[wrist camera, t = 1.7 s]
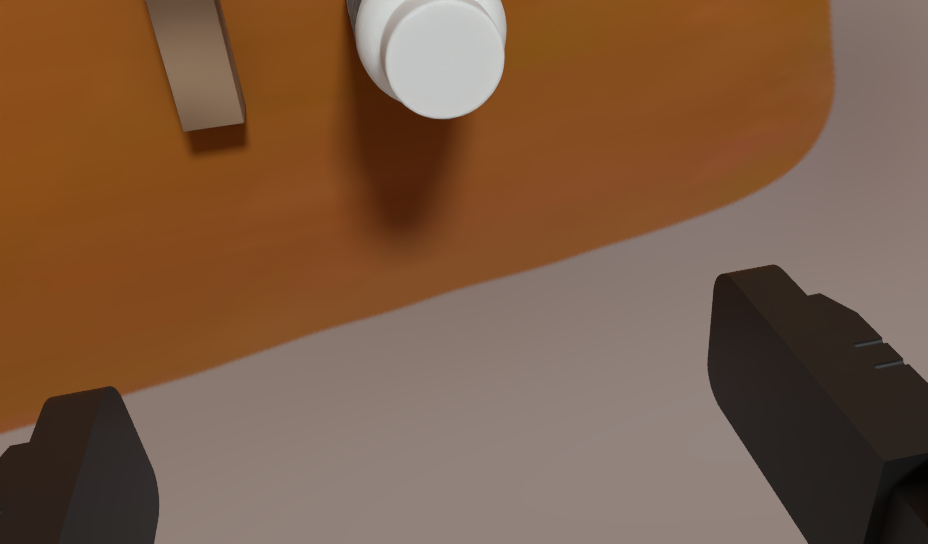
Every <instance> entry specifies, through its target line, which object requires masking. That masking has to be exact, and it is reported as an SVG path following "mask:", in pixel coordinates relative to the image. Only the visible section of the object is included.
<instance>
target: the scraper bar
mask: <svg viewBox="0 0 928 544" xmlns="http://www.w3.org/2000/svg"><path fill="white" fill-rule="evenodd" d="M145 1H146V4H147V7H148V11H149V14H150V18H151V21H152V25H153V28H154V31H155V35H156V38H157V42H158V45H159V48H160V52H161V55H162V59H163V62H164V66H165V69H166V72H167V76H168V79H169V83H170V86H171V90H172V93H173V96H174V100H175V103H176V107H177V110H178V114H179V117H180V120H181V124H182V127H183V131H184V132H185V131H192V130H199V129H206V128H212V127H219V126H226V125H233V124H240V123H244V119H245V110H246V106H245V101H244V97H243V93H242V89H241V85H240V81H239V77H238V73H237V69H236V64H235V60H234V56H233V52H232V48H231V44H230V40H229V36H228V31H227V27H226V23H225V19H224V15H223V11H222V7H221V3H220V0H145Z"/></svg>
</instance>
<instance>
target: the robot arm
mask: <svg viewBox="0 0 928 544" xmlns="http://www.w3.org/2000/svg"><path fill="white" fill-rule="evenodd" d="M708 375H709V380H710V385H711V388H712V391H713V394H714V397H715V399H716V401H717V403H718V405H719V407H720V409H721V410H722V412H723V413H724V415H725V416H726V418H727V419H728V421H729V422H730V424H731V425H732V427H733V428H734V430H735V432H736V433H737V435H738V436H739V438H740V439H741V441H742V442H743V444H744V445H745V447H746V448H747V450H748V452H749V453H750V455H751V456H752V458H753V459H754V461H755V462H756V464H757V465H758V467H759V468H760V470H761V472H762V473H763V475H764V476H765V478H766V479H767V481H768V482H769V484H770V485H771V487H772V488H773V490H774V491H775V493H776V495H777V496H778V498H779V499H780V500H781V502H782V504H783V505H784V507H785V508H786V510H787V511H788V513H789V515H790V516H791V518H792V519H793V521H794V522H795V524H796V525H797V527H798V528H799V530H800V531H801V533H802V535H803V536H804V537H805V539H806V541H807V542H808V544H928V383H927V382H926V381H925V380H924V379H923V378H922V377H921V376H920V375H919V374H918V373H917V372H916V371H915V370H914V369H913V368H912V367H911V366H910V365H909V364H907V365H905V364H904V362H903V358H902V357H901V356H900V355H899V354H898V353H897V352H896V351H895V350H894V349H893V348H892V347H891V346H890V345H889V344H888V343H883V341H882V337H881V336H880V335H879V334H878V333H877V332H876V331H875V330H874V329H873V328H872V327H871V326H870V325H869V324H868V323H867V322H866V321H865V320H864V319H863V318H862V317H861V316H860V315H859V314H858V313H857V312H855V311H853V310H851V309H849V308H847V307H845V306H843V305H842V304H840V303H838V302H836V301H834V300H832V299H830V298H828V297H826V296H824V295H822V294H820V293H819V294H814V295H809V296H807V295H806V294H805V293H804V292H803V290H802V289H801V288H800V287H799V286H798V285H797V284H796V283H795V282H794V281H793V280H792V279H791V278H790V277H789V276H788V275H787V274H786V272H785V271H784V270H782V269H781V268H780V267H778V266H777V265H768V266H762V267H757V268H752V269H747V270H741V271H736V272H730V273H725V274H721V275H719V276H718V277H717V279H716V281H715V284H714V290H713V302H712V314H711V326H710V338H709V350H708ZM158 516H159V494H158V487H157V481H156V477H155V474H154V470H153V468H152V466H151V463H150V461H149V459H148V456H147V454H146V452H145V450H144V448H143V445H142V443H141V440H140V438H139V436H138V433H137V431H136V429H135V427H134V424H133V422H132V420H131V418H130V416H129V413H128V411H127V409H126V406H125V404H124V402H123V399H122V397H121V395H120V394H119V392H118V391H117V390H116V389H115V388H114V387H111V386H109V387H103V388H98V389H92V390H87V391H82V392H76V393H71V394H66V395H60V396H55V397H50V398H49V399H47V401H46V402H45V403H44V405H43V408H42V410H41V413H40V416H39V418H38V421H37V423H36V426H35V429H34V431H33V434H32V437H31V439H30V442H28V443H23V444H18V445H12V446H10V447H9V448H8V449H7V450H6V451H5V452H4V453H3V454H2V456H1V457H0V544H154V540H155V534H156V529H157V523H158Z"/></svg>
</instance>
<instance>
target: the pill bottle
mask: <svg viewBox="0 0 928 544" xmlns="http://www.w3.org/2000/svg"><path fill="white" fill-rule="evenodd" d="M346 3H347V8H348V13H349V16H350V21H351V25H352V29H353V33H354V37H355V41H356V47H357V51H358V54H359V58H360V60H361V62H362V64H363V66H364V68H365V70H366V71H367V73H368V75H369V76H370V78H371V79H372V80H373V82H374V83H375V84H376V85H377V86H378V87H379V88H380V89H381V90H382V91H384V92H385V93H386V94H388V95H389V96H390V97H392V98H394V99H396V100H398V101H400V102H402V103H403V104H404V105H405V106H406V107H407V108H409V109H410V110H412V111H413V112H415V113H417V114H419V115H422V116H425V117H428V118H433V119H451V118H455V117H459V116H463V115H465V114H468V113H470V112H472V111H473V110H475V109H476V108H478V107H479V106H481V105H482V104H483V103H484V102H485V101H486V100H487V99H488V98H489V97H490V95H491V94H492V93H493V92H494V90H495V89H496V87H497V85H498V83H499V81H500V79H501V76H502V72H503V68H504V47H505V42H506V18H505V13H504V9H503V6H502V3H501V0H346Z"/></svg>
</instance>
